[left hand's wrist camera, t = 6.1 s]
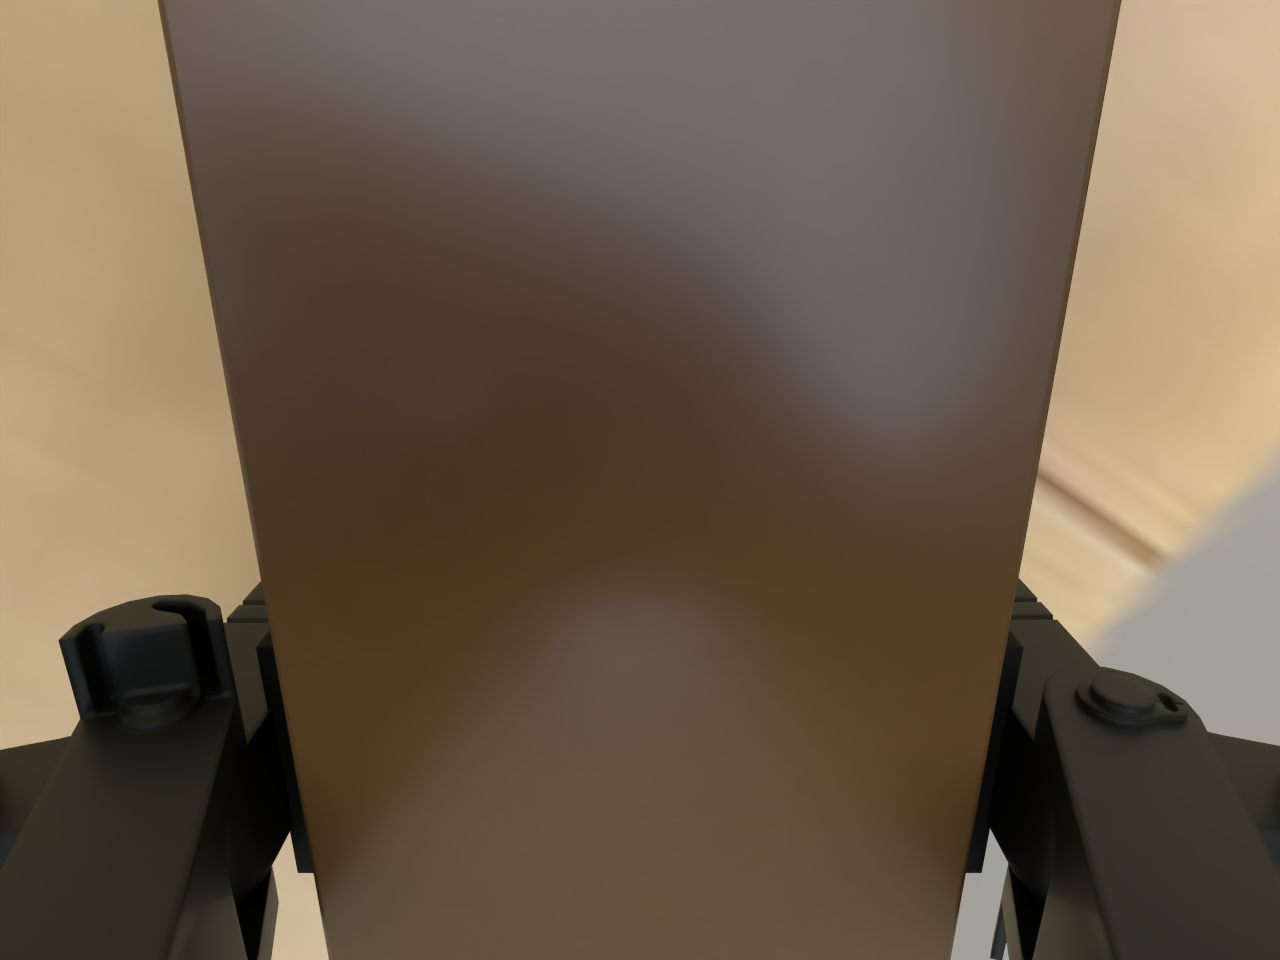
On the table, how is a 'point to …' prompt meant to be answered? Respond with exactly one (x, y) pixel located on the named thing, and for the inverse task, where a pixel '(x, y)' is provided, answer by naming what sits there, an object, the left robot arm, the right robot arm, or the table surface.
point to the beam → (639, 445)
